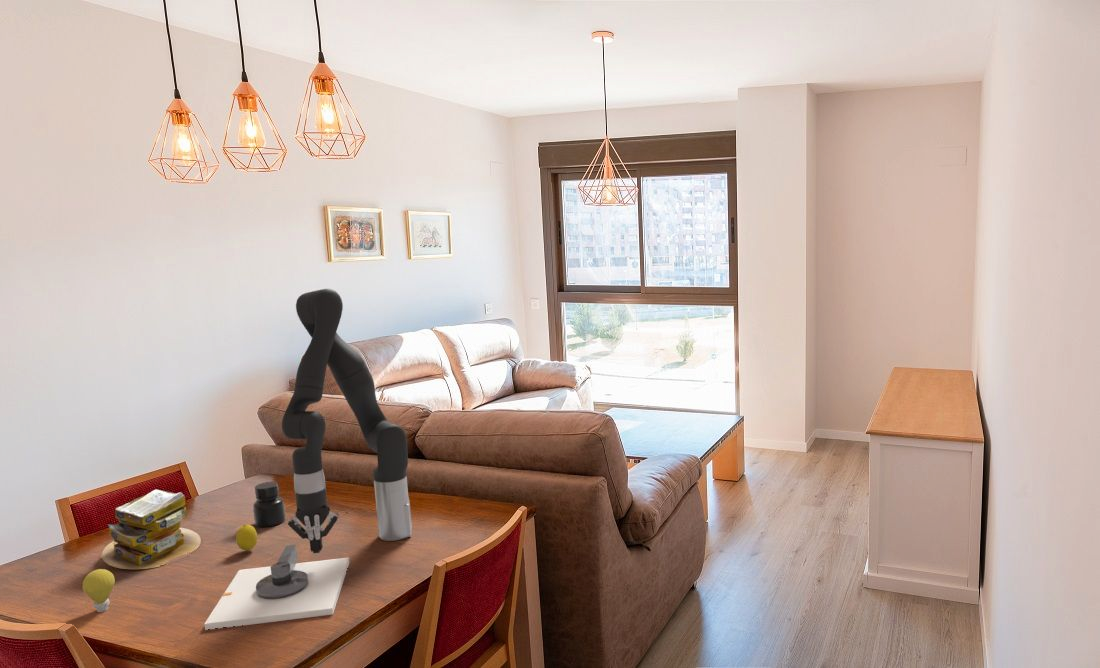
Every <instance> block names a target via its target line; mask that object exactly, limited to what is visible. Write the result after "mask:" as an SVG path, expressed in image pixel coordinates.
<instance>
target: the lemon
mask: <svg viewBox="0 0 1100 668" xmlns="http://www.w3.org/2000/svg"><path fill="white" fill-rule="evenodd" d="M235 540H236V541H235V542H236V546H238V547H239V549H240V550H243V551H246V552H247V551H248V552H250V551H251V550H252V549H253V548H255V547H256V544H257V543H258V533H257V530H256V529H255V527H254V526H253V525H251V524H247V523H244V524H243V525H242V526H240V527H239V528H238V530H237V531H236V537H235Z"/></svg>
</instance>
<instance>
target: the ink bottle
mask: <svg viewBox="0 0 1100 668" xmlns="http://www.w3.org/2000/svg"><path fill="white" fill-rule="evenodd" d="M254 491H255V492H254V494H255V499H256V500H255V501H254V503H253V505H252V507H253V516H254V518H253V519H254V524H255V526H257V527H260V528H268V527H273V526H278V525H280V524H282V523H284V522H285V521H286V510H285V501H284V499H283V498H282V497H281V496H280V489H279V483H278V482H276V481H267V482H262V483H258V484H256V485H255V486H254Z"/></svg>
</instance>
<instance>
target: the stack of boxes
mask: <svg viewBox="0 0 1100 668" xmlns="http://www.w3.org/2000/svg"><path fill="white" fill-rule="evenodd" d="M185 506H186V496H185V494H183V493H182V492H181V491H180V492H177V493H176V492H175V493H174V492H170V491H165V490H161V489H154V490H152V491H150V492H148V493H147V494H145V495H142V496H140V497H138V498H134V499H133V500H132V501H130V502H128V503H125V504H123V505H121V506H117V507H115V509H114V514H115V516H114V518H115V520H118V523H114V524H107V525H108V528H109V538H112V539H113V541H111V542H110V543H109V544H107V545H106V546H105V547H104V548H103V551H102V553H101V558H102V561H103V562H104V563H106V565H108V566H111V567H114V568H116V569H117V568H118V569H121V570H123V569H124V570H147V569H153V568H158V567H161V566H160V565H164V564H165V563H166V562H168V561H169V560H171V559H174V558H176V557H179V556H181V555H184V554H187V552H188V553H189V552H192V551H194V550H195V551H196V550H198V549H199V546H200V545H201V543H202V542H201V541H202V539H201V536H200V535H199V534H198V533H197V532H195V531H194V530H192V529H188V528H186V527H181V523H182V521H183V519H185V518H186V517H188V516H187V515H188V514H187V512H188V511H187V507H185ZM195 551H194V552H195ZM164 566H165V565H164Z"/></svg>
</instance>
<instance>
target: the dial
mask: <svg viewBox="0 0 1100 668" xmlns="http://www.w3.org/2000/svg"><path fill="white" fill-rule="evenodd" d="M298 560H299V559H298V551H297V544H291V545H290V544H288V545H285V546H284V549H283V551H282V553H281V555H280V556H279V558H278V560H277V562H276V563H274V564H272V565H270V566H271V575H269V576H267V577H265V578H263V579H261V580H260V581H259V582H258V583H257V584H256V593H257V595H258V596H259V597H261V598H265V599H277V598H283V597H287V596H291V595H293V594H296V593H298V592H300V591H301V590H303V589H304V588H305V587H306V586H307V585H308V575H307V574H306V573H305V572H303V571H298V570H293V568H294V566H295V564H296V563H298V562H297V561H298Z"/></svg>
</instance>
